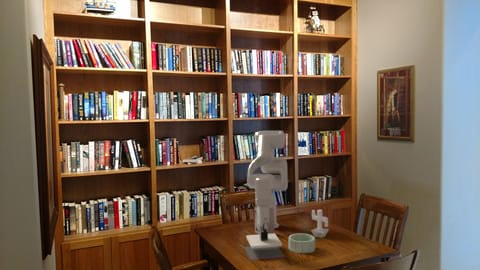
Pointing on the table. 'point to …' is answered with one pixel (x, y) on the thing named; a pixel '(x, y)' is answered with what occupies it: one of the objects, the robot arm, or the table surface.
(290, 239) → the bowl
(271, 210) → the greeting card
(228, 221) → the table surface
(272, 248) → the mat
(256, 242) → the lid
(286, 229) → the table surface
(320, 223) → the figurine
